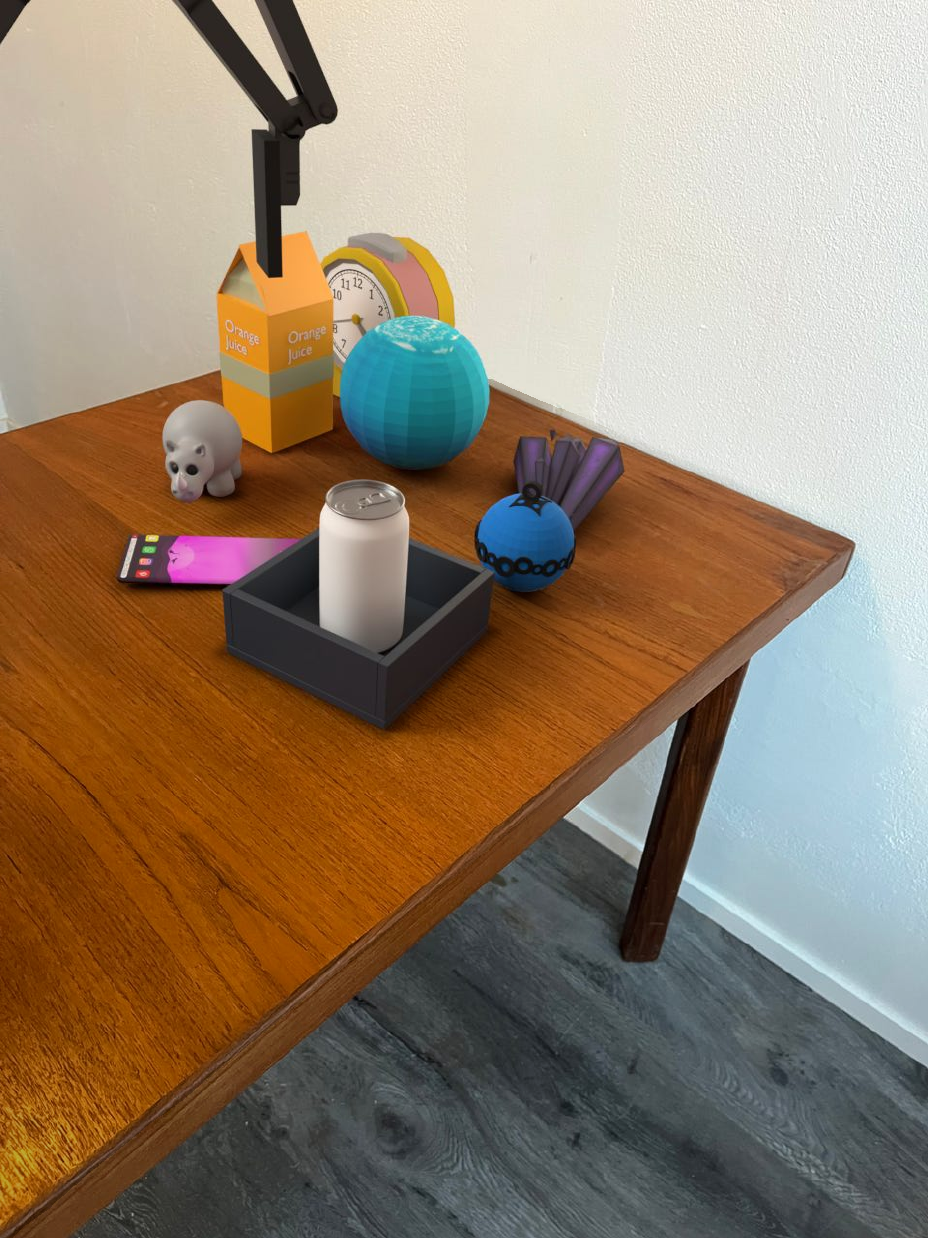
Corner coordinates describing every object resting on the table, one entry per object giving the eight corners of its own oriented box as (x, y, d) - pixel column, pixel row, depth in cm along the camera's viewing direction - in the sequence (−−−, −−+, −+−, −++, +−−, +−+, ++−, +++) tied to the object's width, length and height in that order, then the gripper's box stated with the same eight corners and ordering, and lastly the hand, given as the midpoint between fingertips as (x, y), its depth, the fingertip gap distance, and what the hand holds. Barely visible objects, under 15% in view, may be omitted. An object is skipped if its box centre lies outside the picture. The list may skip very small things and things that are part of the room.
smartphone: (131, 541, 85) (129, 532, 84) (305, 542, 87) (305, 534, 86) (117, 588, 79) (115, 579, 79) (304, 588, 81) (304, 579, 81)
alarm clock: (307, 386, 115) (306, 223, 104) (357, 369, 120) (360, 213, 110) (399, 428, 108) (408, 259, 97) (448, 408, 113) (461, 246, 102)
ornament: (581, 575, 87) (599, 475, 81) (547, 624, 80) (564, 519, 75) (493, 547, 89) (505, 448, 84) (453, 592, 83) (463, 489, 77)
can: (303, 626, 76) (301, 490, 69) (371, 599, 80) (375, 468, 73) (350, 669, 72) (353, 531, 65) (419, 640, 76) (429, 505, 69)
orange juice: (223, 428, 104) (210, 234, 92) (286, 406, 110) (281, 221, 98) (272, 454, 100) (266, 255, 89) (334, 429, 106) (336, 240, 94)
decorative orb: (313, 444, 103) (312, 303, 94) (433, 421, 110) (443, 287, 101) (383, 509, 93) (389, 358, 84) (510, 478, 101) (528, 337, 92)
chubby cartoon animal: (140, 525, 87) (129, 439, 82) (180, 464, 97) (172, 383, 92) (220, 534, 87) (214, 448, 82) (252, 472, 97) (248, 391, 92)
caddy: (226, 652, 74) (221, 589, 71) (342, 569, 84) (343, 511, 81) (384, 730, 68) (387, 666, 65) (487, 631, 79) (495, 571, 76)
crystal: (607, 502, 85) (638, 399, 100) (479, 487, 88) (528, 389, 103) (602, 568, 90) (633, 460, 104) (482, 552, 92) (528, 449, 107)
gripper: (359, -240, 44) (351, 246, 56) (-307, -346, 35) (-142, 259, 47) (417, -253, 38) (394, 288, 51) (-355, -383, 29) (-154, 311, 42)
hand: (135, 275), depth 49 cm, fingers open, 13 cm apart
